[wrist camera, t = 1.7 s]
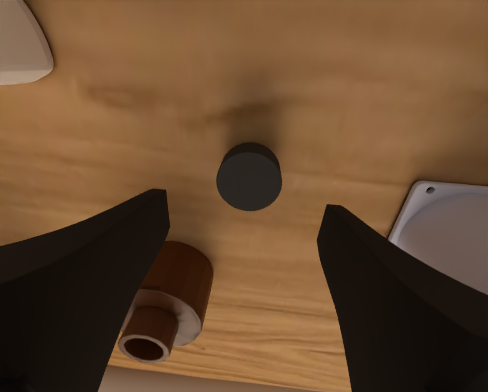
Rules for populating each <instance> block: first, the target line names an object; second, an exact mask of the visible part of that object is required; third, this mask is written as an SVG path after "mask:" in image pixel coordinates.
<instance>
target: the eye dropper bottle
mask: <svg viewBox="0 0 488 392" xmlns="http://www.w3.org/2000/svg"><path fill="white" fill-rule="evenodd" d="M53 68H54V61H53V57H52V54H51V51H50V48H49V46H48V43H47V41H46V38H45V36H44V34H43V32H42V30H41V28H40V26H39V24H38V22H37V21H36V19H35V17H34V16H33V14H32V12H31V11H30V9H29V8H28V6H27V5H26V4H25V2H24V1H23V0H0V85H9V84H21V83H31V82H35V81H37V80H39V79H40V78H42V77H44V76H46V75H47V74H49V73H50V72H51V71H52V69H53Z"/></svg>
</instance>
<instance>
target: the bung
mask: <svg viewBox="0 0 488 392" xmlns="http://www.w3.org/2000/svg"><path fill="white" fill-rule="evenodd" d="M216 182H217V188H218V191H219V193H220V195H221V196H222V198H223V199H224V200H225V201H226V202H227V203H228V204H229V205H231V206H233V207H235V208H237V209H240V210H244V211H256V210H260V209H263V208H265V207H267V206H269V205H270V204H271V203H273V202H274V201H275V199H276V198H277V197H278V195H279V193H280V191H281V187H282V177H281V171H280V165H279V162H278V159H277V157H276V156H275V154H274V153H273V152H272V151H271V150H270V149H268V148H267V147H265V146H263V145H261V144H258V143H243V144H239V145H237V146H235V147H233V148H232V149H230V150H229V151H228V152H227V154H226V155H225V157H224V158H223V161H222V163H221V166H220V168H219V170H218V173H217V179H216Z"/></svg>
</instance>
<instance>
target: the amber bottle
mask: <svg viewBox="0 0 488 392" xmlns="http://www.w3.org/2000/svg"><path fill="white" fill-rule="evenodd" d="M212 279H213V269H212V266H211V264H210V262H209V260H208V259H207V258H206V257H205V256H204V255H203V254H202V253H201V252H200V251H198V250H197V249H195V248H193V247H191V246H189V245H186V244H183V243H179V242H164V244H163V246H162V248H161V250H160V252H159V253H158V255H157V257H156V259H155V261H154V262H153V264H152V266H151V268H150V270H149V271H148V273H147V275H146V277H145V278H144V280H143V282H142V284H141V286H140V287H139V289H138V291H137V293H136V295H135V297H134V300H133V302H132V304H131V307H130V309H129V311H128V314H127V316H126V318H125V321H124V323H123V326H122V328H121V331H122V332H123V334H122V336H121V337H120V339H119V341H118V345H119V348H120V350H121V352H123V353H124V354H125V355H126V356H128V357H129V358H131V359H134V360H137V361H139V362H144V363H159V362H163V361H165V360H166V359H167V358H168V357H169V356H170V353H171V350H172V347H177V346H183V345H186V344H188V343H190V342H192V341H194V340H195V339H196V338H197V337H198V335H199V334H200V332H201V330H202V326H203V322H204V317H205V313H206V308H207V304H208V300H209V295H210V291H211V287H212Z"/></svg>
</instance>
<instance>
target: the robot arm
mask: <svg viewBox="0 0 488 392" xmlns="http://www.w3.org/2000/svg"><path fill="white" fill-rule="evenodd" d="M429 187H431V188H430V190H428V191H426V190H427V189H428V188H429ZM169 228H170V222H169V213H168V204H167V194H166V190H161V189H151V190H148V191H146V192H143V193H141V194H139V195H137V196H135V197H133V198H131V199H129V200H127V201H125V202H123V203H121V204H119V205H117V206H115V207H113V208H111V209H108V210H106V211H104V212H102V213H100V214H97V215H95V216H93V217H91V218H88V219H86V220H83V221H81V222H78V223H76V224H73V225H70V226H67V227H65V228H62V229H59V230H56V231H53V232H50V233H46V234H43V235H40V236H36V237H33V238H30V239H26V240H23V241H19V242H15V243H11V244H7V245H4V246H0V392H98V389H99V386H100V383H101V381H102V378H103V375H104V372H105V369H106V367H107V364H108V361H109V359H110V356H111V353H112V351H113V348H114V345H115V343H116V340H117V338H118V335H119V333H120V330H121V328H122V326H123V323H124V321H125V318H126V316H127V314H128V311H129V309H130V307H131V304H132V302H133V300H134V297H135V295H136V293H137V291H138V289H139V287H140V286H141V284H142V282H143V280H144V278H145V277H146V275H147V273H148V271H149V270H150V268H151V266H152V264H153V262H154V261H155V259H156V257H157V255H158V253H159V252H160V250H161V248H162V246H163V244H164V241H165V239H166V236H167V234H168V231H169ZM317 245H318V252H319V257H320V261H321V265H322V268H323V271H324V274H325V277H326V280H327V284H328V287H329V290H330V293H331V296H332V299H333V302H334V305H335V309H336V312H337V316H338V320H339V325H340V330H341V334H342V339H343V344H344V349H345V355H346V360H347V365H348V371H349V377H350V383H351V389H352V392H488V186H479V185H467V184H456V183H444V182H432V181H418V182H416V183H415V184H414V185H413V186H412V188H411V190H410V193H409V195H408V197H407V199H406V201H405V203H404V205H403V208H402V210H401V212H400V214H399V216H398V218H397V220H396V223H395V225H394V227H393V229H392V231H391V233H390V235H389V238H388V240H387V239H386V238H384V237H383V236H382V235H380V234H379V233H378V232H376V231H375V230H373V229H372V228H371V227H369V226H368V225H367V224H366V223H364V222H363V221H362V220H360V219H359V218H358V217H356V216H355V215H354V214H352V213H351V212H350V211H348V210H347V209H346V208H344V207H343V206H341V205H330V204H327V205H326V209H325V213H324V216H323V220H322V223H321V227H320V230H319V234H318V238H317Z"/></svg>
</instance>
